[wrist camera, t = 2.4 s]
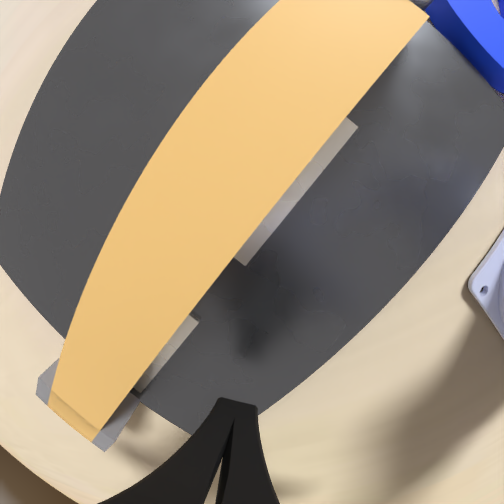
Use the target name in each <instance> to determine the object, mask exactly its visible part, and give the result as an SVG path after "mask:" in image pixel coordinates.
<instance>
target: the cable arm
mask: <svg viewBox="0 0 504 504" xmlns="http://www.w3.org/2000/svg"><path fill="white" fill-rule="evenodd" d="M429 17H430V16H429V15H427V14H426V13H425V12H424V11H423V10H421V9H420V8H419V7H417V6H416V5H415V4H414V3H412V2H411V1H410V0H279V1H278V2H277V3H276V4H275V5H274V6H273V7H272V8H271V9H270V10H269V11H268V12H267V13H266V14H265V15H264V16H263V17H262V18H261V19H260V20H259V21H258V22H257V23H256V24H255V25H254V26H253V27H252V28H251V29H250V30H249V31H248V32H247V33H246V34H245V35H244V37H243V38H242V39H241V40H240V41H239V42H238V43H237V44H236V45H235V46H234V48H233V49H232V50H231V51H230V52H229V53H228V54H227V56H226V57H225V58H224V59H223V60H222V61H221V63H220V64H219V65H218V66H217V67H216V69H215V70H214V71H213V72H212V73H211V75H210V76H209V77H208V78H207V80H206V81H205V82H204V83H203V85H202V86H201V87H200V89H199V90H198V91H197V93H196V94H195V95H194V96H193V98H192V99H191V100H190V102H189V103H188V105H187V106H186V107H185V109H184V110H183V111H182V113H181V114H180V116H179V117H178V118H177V120H176V121H175V123H174V124H173V126H172V127H171V128H170V130H169V131H168V133H167V134H166V136H165V137H164V139H163V140H162V142H161V143H160V145H159V147H158V148H157V150H156V151H155V153H154V154H153V156H152V158H151V159H150V161H149V162H148V164H147V166H146V167H145V169H144V171H143V172H142V174H141V176H140V177H139V179H138V181H137V182H136V184H135V186H134V188H133V189H132V191H131V193H130V195H129V197H128V198H127V200H126V202H125V204H124V206H123V208H122V209H121V211H120V213H119V215H118V217H117V219H116V221H115V223H114V225H113V227H112V229H111V231H110V233H109V235H108V237H107V239H106V241H105V243H104V245H103V247H102V249H101V251H100V254H99V256H98V258H97V260H96V262H95V265H94V267H93V269H92V271H91V274H90V276H89V278H88V281H87V283H86V286H85V288H84V291H83V293H82V295H81V298H80V301H79V303H78V306H77V308H76V311H75V314H74V317H73V319H72V322H71V325H70V328H69V331H68V334H67V337H66V340H65V343H64V346H63V349H62V352H61V355H60V358H59V359H58V360H57V361H55V362H54V363H53V364H52V365H51V366H50V367H49V368H48V369H47V370H46V371H45V372H44V373H43V374H41V375H40V376H39V378H38V384H37V390H36V395H37V396H38V397H39V398H40V399H41V400H42V401H43V402H44V403H45V404H46V405H47V406H48V407H49V408H50V409H52V410H53V411H54V412H55V413H56V414H57V415H58V416H59V417H61V418H62V419H63V420H64V421H65V422H66V423H68V424H69V425H70V426H71V427H72V428H74V429H75V430H76V431H77V432H79V433H80V434H81V435H82V436H84V437H85V438H86V439H88V440H89V441H90V442H92V443H93V444H94V445H96V446H97V447H98V448H100V449H101V450H103V451H104V452H105V451H106V450H107V449H108V448H109V447H110V446H111V445H112V444H113V443H114V442H115V441H116V439H117V437H118V436H119V434H120V433H121V431H122V429H123V428H124V426H125V425H126V423H127V422H128V420H129V418H130V417H131V415H132V414H133V412H134V410H135V409H136V407H137V406H138V404H139V403H140V401H141V400H140V399H138V398H137V397H136V396H134V395H133V394H131V393H130V392H129V391H130V390H131V389H132V388H133V386H134V385H135V384H136V382H137V381H138V380H139V378H140V377H141V376H142V374H143V373H144V372H145V370H146V369H147V368H148V367H149V365H150V364H151V363H152V361H153V360H154V359H155V357H156V356H157V355H158V353H159V352H160V351H161V350H162V348H163V347H164V346H165V344H166V343H167V342H168V340H169V339H170V338H171V337H172V335H173V334H174V333H175V331H176V330H177V329H178V327H179V326H180V325H181V324H182V322H183V321H184V320H185V318H186V317H187V316H188V315H189V313H190V312H191V311H192V309H193V308H194V307H195V306H196V304H197V303H198V302H199V300H200V299H201V298H202V297H203V295H204V294H205V293H206V291H207V290H208V289H209V288H210V286H211V285H212V284H213V282H214V281H215V280H216V279H217V277H218V276H219V275H220V274H221V272H222V271H223V270H224V268H225V267H226V266H227V265H228V263H229V262H230V261H231V260H232V258H233V257H234V256H235V254H236V253H237V252H238V251H239V249H240V248H241V247H242V246H243V244H244V243H245V242H246V241H247V239H248V238H249V237H250V236H251V234H252V233H253V232H254V230H255V229H256V228H257V227H258V225H259V224H260V223H261V222H262V220H263V219H264V218H265V217H266V215H267V214H268V213H269V212H270V210H271V209H272V208H273V207H274V205H275V204H276V203H277V202H278V200H279V199H280V198H281V197H282V195H283V194H284V193H285V192H286V190H287V189H288V188H289V187H290V185H291V184H292V183H293V182H294V180H295V179H296V178H297V177H298V175H299V174H300V173H301V172H302V170H303V169H304V168H305V167H306V165H307V164H308V163H309V162H310V161H311V159H312V158H313V157H314V156H315V154H316V153H317V152H318V151H319V149H320V148H321V147H322V146H323V145H324V143H325V142H326V141H327V140H328V138H329V137H330V136H331V135H332V133H333V132H334V131H335V130H336V129H337V127H338V126H339V125H340V124H341V122H342V121H343V120H344V119H345V118H346V116H347V115H348V114H349V113H350V111H351V110H352V109H353V108H354V107H355V105H356V104H357V103H358V102H359V101H360V99H361V98H362V97H363V96H364V94H365V93H366V92H367V91H368V90H369V88H370V87H371V86H372V85H373V84H374V82H375V81H376V80H377V79H378V78H379V76H380V75H381V74H382V73H383V72H384V70H385V69H386V68H387V67H388V66H389V64H390V63H391V62H392V61H393V60H394V58H395V57H396V56H397V55H398V54H399V52H400V51H401V50H402V49H403V48H404V46H405V45H406V44H407V43H408V42H409V41H410V39H411V38H412V37H413V36H414V35H415V33H416V32H417V31H418V30H419V29H420V28H421V26H422V25H423V24H424V23H425V22H426V20H427V19H428V18H429Z"/></svg>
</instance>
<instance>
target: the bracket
mask: <svg viewBox="0 0 504 504" xmlns="http://www.w3.org/2000/svg"><path fill="white" fill-rule="evenodd" d="M498 3H499V8H500V14H501V15H500V14H499V13H498V11H497V10H496V9H495V7H494V5H493V3H492V1H491V0H433V1H432V3H431V4H430V5H429V6H428V7H427V8H426V9H425V11H426V13H427V15H429V16H430V17H429V18H430V20H431V22H432V23H433V25H434V26H435V28H436V29H437V30H438V31H439V32H440V33H441V34H442V35H443V36H444V37H445V38H446V39H447V40H449V41H450V42H451V43H452V44H453V45H454V46H455V47H456V48H457V49H458V50H459V51H460V52H461V53H462V54H463V55H464V56H465V57H466V58H467V59H468V61H469V62H470V63H471V64H472V65H473V66H474V67H475V68H476V69H477V70H478V72H479V73H480V74H481V75H482V76H483V77H484V78H485V80H486V81H487V82H488V83H489V84H490V86H491V87H492V88H494V89H496V90H497V91H499V92H501V93H503V94H504V0H498Z"/></svg>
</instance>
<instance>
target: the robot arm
mask: <svg viewBox="0 0 504 504" xmlns="http://www.w3.org/2000/svg"><path fill="white" fill-rule="evenodd" d="M483 286H484V288H483V290H482V291H481V292H480V290H481V288H482V287H483ZM468 289H469V291H470V292H471V293H472V295H473V296H474V297H475V299H476V300H477V301H478V303H479V304H480V306H481V307H482V308H483V310H484V311H485V313H486V314H487V316H488V317H489V318H490V320H491V321H492V323H493V324H494V326H495V327H496V329H497V331H498V332H499V334H500V335H501V337H502V338H503V340H504V230H503V231H502V233H501V235H500V236H499V238H498V239H497V241H496V242H495V244H494V245H493V246H492V248H491V249H490V251H489V252H488V254H487V255H486V256H485V258H484V259H483V261H482V262H481V263H480V265H479V266H478V267H477V269H476V270H475V271H474V273H473V274H472V275H471V277H470V278H469V281H468ZM222 457H223V459H222ZM221 459H222V465H221V471H220V477H219V484H218V490H217V496H216V503H215V504H280V503H279V500H278V498H277V496H276V493H275V491H274V488H273V485H272V482H271V479H270V476H269V473H268V470H267V466H266V462H265V458H264V454H263V450H262V445H261V440H260V433H259V425H258V408H257V406H256V405H252V404H248V403H243V402H239V401H235V400H231V399H227V398H224V397H220V398H218V399H217V401H216V403H215V405H214V407H213V408H212V410H211V412H210V413H209V415H208V416H207V417H206V419H205V420H204V422H203V423H202V424H201V425H200V427H199V428H198V429H197V430H196V431H195V433H194V434H193V435H192V436H191V437H190V438H189V440H188V441H187V442H186V443H185V444H184V445H183V446H182V447H181V448H180V449H179V450H178V451H177V452H176V453H175V454H174V455H172V456H171V457H170V458H169V459H168V460H167V461H166V462H164V463H163V464H162V465H161V466H160V467H158V468H157V469H156V470H155V471H153V472H152V473H151V474H149V475H148V476H146V477H145V478H143V479H142V480H141V481H139V482H138V483H136V484H134V485H133V486H131V487H130V488H128V489H126V490H124V491H122V492H120V493H119V494H117V495H115V496H113V497H111V498H109V499H107V500H105V501H103V502H100V503H98V504H204V501H205V499H206V496H207V494H208V492H209V489H210V487H211V484H212V482H213V479H214V477H215V475H216V472H217V470H218V467H219V465H220V462H221Z"/></svg>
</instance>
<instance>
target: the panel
mask: <svg viewBox="0 0 504 504" xmlns="http://www.w3.org/2000/svg"><path fill="white" fill-rule="evenodd" d="M278 1H279V0H97V1H96V2H95V4H94V5H93V6H92V7H91V9H90V10H89V11H88V12H87V14H86V15H85V16H84V18H83V19H82V20H81V22H80V23H79V25H78V26H77V27H76V29H75V30H74V32H73V33H72V35H71V36H70V38H69V39H68V41H67V42H66V44H65V45H64V47H63V48H62V50H61V52H60V53H59V55H58V56H57V58H56V60H55V61H54V63H53V65H52V67H51V68H50V70H49V72H48V74H47V76H46V77H45V79H44V81H43V83H42V85H41V87H40V89H39V91H38V93H37V95H36V97H35V99H34V101H33V103H32V106H31V108H30V110H29V112H28V115H27V117H26V119H25V122H24V124H23V127H22V129H21V132H20V134H19V137H18V139H17V142H16V145H15V148H14V151H13V153H12V156H11V159H10V163H9V166H8V169H7V172H6V176H5V179H4V183H3V187H2V190H1V194H0V265H1V266H2V268H3V269H4V270H5V272H6V273H7V274H8V276H9V277H10V278H11V280H12V281H13V282H14V283H15V285H16V286H17V287H18V288H19V290H20V291H21V292H22V293H23V294H24V296H25V297H26V298H27V299H28V300H29V301H30V303H31V304H32V305H33V306H34V307H35V308H36V309H37V310H38V312H39V313H40V314H41V315H42V316H43V317H44V318H45V319H46V320H47V321H48V322H49V323H50V324H51V325H52V326H53V327H54V329H55V330H56V331H57V332H58V333H59V334H60V335H61V336H62V337H63V338H64V339H66V337H67V334H68V331H69V328H70V325H71V322H72V319H73V317H74V314H75V311H76V308H77V306H78V303H79V301H80V298H81V295H82V293H83V291H84V288H85V286H86V283H87V281H88V278H89V276H90V274H91V271H92V269H93V267H94V265H95V262H96V260H97V258H98V256H99V254H100V251H101V249H102V247H103V245H104V243H105V241H106V239H107V237H108V235H109V233H110V231H111V229H112V227H113V225H114V223H115V221H116V219H117V217H118V215H119V213H120V211H121V209H122V208H123V206H124V204H125V202H126V200H127V198H128V197H129V195H130V193H131V191H132V189H133V188H134V186H135V184H136V182H137V181H138V179H139V177H140V176H141V174H142V172H143V171H144V169H145V167H146V166H147V164H148V162H149V161H150V159H151V158H152V156H153V154H154V153H155V151H156V150H157V148H158V147H159V145H160V143H161V142H162V140H163V139H164V137H165V136H166V134H167V133H168V131H169V130H170V128H171V127H172V126H173V124H174V123H175V121H176V120H177V118H178V117H179V116H180V114H181V113H182V111H183V110H184V109H185V107H186V106H187V105H188V103H189V102H190V100H191V99H192V98H193V96H194V95H195V94H196V93H197V91H198V90H199V89H200V87H201V86H202V85H203V83H204V82H205V81H206V80H207V78H208V77H209V76H210V75H211V73H212V72H213V71H214V70H215V69H216V67H217V66H218V65H219V64H220V63H221V61H222V60H223V59H224V58H225V57H226V56H227V54H228V53H229V52H230V51H231V50H232V49H233V48H234V46H235V45H236V44H237V43H238V42H239V41H240V40H241V39H242V38H243V37H244V35H245V34H246V33H247V32H248V31H249V30H250V29H251V28H252V27H253V26H254V25H255V24H256V23H257V22H258V21H259V20H260V19H261V18H262V17H263V16H264V15H265V14H266V13H267V12H268V11H269V10H270V9H271V8H272V7H273V6H274V5H275V4H276V3H277V2H278ZM410 1H411V2H412V3H414V4H415V5H416V6H417V7H419V8H420V9H421V10H423V11H425V9H426V8H427V7H428V6H429V5H430V4H431V3H432V1H433V0H410ZM503 147H504V102H503V101H502V100H501V98H500V97H499V96H498V95H497V93H496V92H495V91H494V89H493V88H492V87H491V86H490V84H489V83H488V82H487V81H486V80H485V78H484V77H483V76H482V75H481V74H480V73H479V72H478V70H477V69H476V68H475V67H474V66H473V65H472V64H471V63H470V62H469V61H468V59H467V58H466V57H465V56H464V55H463V54H462V53H461V52H460V51H459V50H458V49H457V48H456V47H455V46H454V45H453V44H452V43H451V42H450V41H449V40H447V39H446V38H445V37H444V36H443V35H442V34H441V33H440V32H439V31H438V30H436V29H435V28H434V27H433V26H432V25H431V24H430V23H428V22H427V21H426V22H425V23H424V24H423V25H422V26H421V28H420V29H419V30H418V31H417V32H416V33H415V35H414V36H413V37H412V38H411V39H410V41H409V42H408V43H407V44H406V45H405V46H404V48H403V49H402V50H401V51H400V52H399V54H398V55H397V56H396V57H395V58H394V60H393V61H392V62H391V63H390V64H389V66H388V67H387V68H386V69H385V70H384V72H383V73H382V74H381V75H380V76H379V78H378V79H377V80H376V81H375V82H374V84H373V85H372V86H371V87H370V88H369V90H368V91H367V92H366V93H365V94H364V96H363V97H362V98H361V99H360V101H359V102H358V103H357V104H356V105H355V107H354V108H353V109H352V110H351V111H350V113H349V114H348V115H347V116H346V118H345V119H344V120H343V121H342V122H341V124H340V125H339V126H338V127H337V129H336V130H335V131H334V132H333V133H332V135H331V136H330V137H329V138H328V140H327V141H326V142H325V143H324V145H323V146H322V147H321V148H320V149H319V151H318V152H317V153H316V154H315V156H314V157H313V158H312V159H311V161H310V162H309V163H308V164H307V165H306V167H305V168H304V169H303V170H302V172H301V173H300V174H299V175H298V177H297V178H296V179H295V180H294V182H293V183H292V184H291V185H290V187H289V188H288V189H287V190H286V192H285V193H284V194H283V195H282V197H281V198H280V199H279V200H278V202H277V203H276V204H275V205H274V207H273V208H272V209H271V210H270V212H269V213H268V214H267V215H266V217H265V218H264V219H263V220H262V222H261V223H260V224H259V225H258V227H257V228H256V229H255V230H254V232H253V233H252V234H251V236H250V237H249V238H248V239H247V241H246V242H245V243H244V244H243V246H242V247H241V248H240V249H239V251H238V252H237V253H236V254H235V256H234V257H233V258H232V260H231V261H230V262H229V263H228V265H227V266H226V267H225V268H224V270H223V271H222V272H221V274H220V275H219V276H218V277H217V279H216V280H215V281H214V282H213V284H212V285H211V286H210V288H209V289H208V290H207V291H206V293H205V294H204V295H203V297H202V298H201V299H200V300H199V302H198V303H197V304H196V306H195V307H194V308H193V309H192V311H191V312H190V313H189V315H188V316H187V317H186V318H185V320H184V321H183V322H182V324H181V325H180V326H179V327H178V329H177V330H176V331H175V333H174V334H173V335H172V337H171V338H170V339H169V340H168V342H167V343H166V344H165V346H164V347H163V348H162V350H161V351H160V352H159V353H158V355H157V356H156V357H155V359H154V360H153V361H152V363H151V364H150V365H149V367H148V368H147V369H146V370H145V372H144V373H143V374H142V376H141V377H140V378H139V380H138V381H137V382H136V384H135V385H134V386H133V388H132V389H131V390H130V391H129V392H130V393H131V394H133V395H134V396H136V397H137V398H138V399H140V400H141V401H140V402H141V403H143V404H144V405H146V406H147V407H148V408H150V409H151V410H153V411H154V412H156V413H157V414H159V415H160V416H162V417H163V418H165V419H166V420H168V421H170V422H171V423H173V424H174V425H176V426H178V427H179V428H181V429H182V430H184V431H186V432H188V433H189V434H191V435H193V434H194V433H195V431H196V430H197V429H198V428H199V427H200V425H201V424H202V423H203V422H204V420H205V419H206V417H207V416H208V415H209V413H210V412H211V410H212V408H213V407H214V405H215V403H216V401H217V399H218V398H220V397H224V398H227V399H231V400H235V401H239V402H243V403H248V404H252V405H256V406H257V408H258V415H259V414H261V413H262V412H264V411H265V410H266V409H268V408H269V407H270V406H272V405H273V404H275V403H276V402H277V401H279V400H280V399H281V398H283V397H284V396H285V395H286V394H288V393H289V392H290V391H292V390H293V389H294V388H295V387H297V386H298V385H299V384H300V383H302V382H303V381H304V380H305V379H307V378H308V377H309V376H310V375H311V374H313V373H314V372H315V371H316V370H317V369H319V368H320V367H321V366H322V365H323V364H324V363H326V362H327V361H328V360H329V359H330V358H331V357H332V356H334V355H335V354H336V353H337V352H338V351H339V350H340V349H341V348H342V347H344V346H345V345H346V344H347V343H348V342H349V341H350V340H351V339H352V338H353V337H354V336H355V335H356V334H357V333H359V332H360V331H361V330H362V329H363V328H364V327H365V326H366V325H367V324H368V323H369V322H370V321H371V320H372V319H373V318H374V317H375V316H376V315H377V314H378V313H379V312H380V311H381V310H382V309H383V308H384V307H385V306H386V304H387V303H388V302H389V301H390V300H391V299H392V298H393V297H394V296H395V295H396V294H397V293H398V292H399V291H400V289H401V288H402V287H403V286H404V285H405V284H406V283H407V282H408V281H409V279H410V278H411V277H412V276H413V275H414V274H415V273H416V271H417V270H418V269H419V268H420V267H421V265H422V264H423V263H424V262H425V261H426V260H427V258H428V257H429V256H430V255H431V253H432V252H433V251H434V250H435V248H436V247H437V246H438V245H439V243H440V242H441V241H442V240H443V238H444V237H445V236H446V234H447V233H448V232H449V230H450V229H451V228H452V226H453V225H454V224H455V222H456V221H457V220H458V218H459V217H460V215H461V214H462V213H463V211H464V210H465V208H466V207H467V205H468V204H469V202H470V201H471V200H472V198H473V197H474V195H475V194H476V192H477V190H478V189H479V187H480V186H481V184H482V183H483V181H484V180H485V178H486V176H487V175H488V173H489V171H490V170H491V168H492V166H493V165H494V163H495V161H496V160H497V158H498V156H499V154H500V152H501V151H502V149H503Z"/></svg>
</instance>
